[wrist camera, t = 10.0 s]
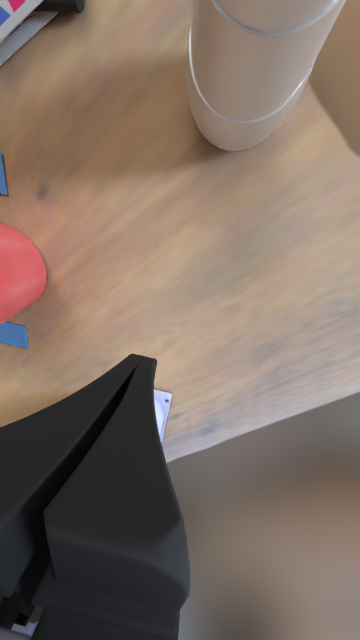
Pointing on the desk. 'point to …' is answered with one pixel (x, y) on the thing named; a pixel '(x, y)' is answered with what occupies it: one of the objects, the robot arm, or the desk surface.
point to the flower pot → (19, 272)
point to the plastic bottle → (251, 64)
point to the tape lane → (7, 331)
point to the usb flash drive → (28, 20)
